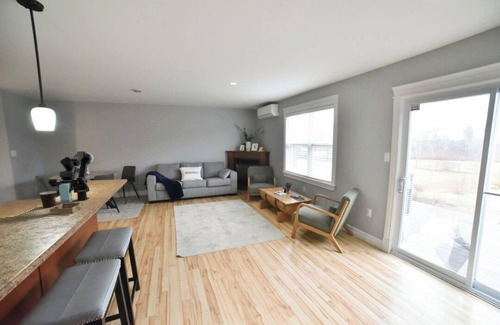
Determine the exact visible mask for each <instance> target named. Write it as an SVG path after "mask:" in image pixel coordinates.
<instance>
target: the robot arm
mask: <svg viewBox="0 0 500 325" xmlns="http://www.w3.org/2000/svg"><path fill="white" fill-rule="evenodd" d="M92 160H93V156H92V155H91V154H90V153H88V152H86V151H80V150H79V151H77V152H76V154H75V155H74V156H72V157H70V156H65V157H64V158H62V159H61V160H60V161H59V163H60V165H61V166H62V168H63V169H64V170H65V171H59V177H60V179H58V178H50V179H48V181H47V183H48V185H49V186H50V187H52V188H56V187H57V188H58V189H59V185H61V184H69V183H71V186H70V189H69V193H71V192H73V194H76V195H77V196H76V197H77V198H76V199H75V202H76V201H79V202H80V201H86V200H88V199H89V198H90V197H88V195H87V194H88V192H90V187H89V185H88V183H87V180H86V178H87V173H88V172H87V171H88V166H89V165H90V164H91V162H92ZM78 167H79V170H77V169H78ZM77 172H78V177H76V173H77ZM58 193H59V194H60V191H59V190H58Z"/></svg>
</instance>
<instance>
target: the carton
mask: <svg viewBox="0 0 500 325" xmlns="http://www.w3.org/2000/svg"><path fill="white" fill-rule="evenodd" d="M83 208H85V205H84V203H83V202H70V203H60V204H59V205H56V206H55V207H51V208H50V209H49V215H48V216H47V217H63V216H70V215H73V214H74V213H76V212H78V211H79V210H81V209H83Z"/></svg>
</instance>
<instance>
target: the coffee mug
mask: <svg viewBox="0 0 500 325" xmlns="http://www.w3.org/2000/svg"><path fill="white" fill-rule="evenodd" d="M57 195H58V194H57V191H56V190H55V191H54V190H53V191H43V192H40V193H39V197H40V201H41V204H42V208H43V209H49V208H50V209H52V208H54V206H55V207H56V206H57Z"/></svg>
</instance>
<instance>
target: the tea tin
mask: <svg viewBox="0 0 500 325" xmlns="http://www.w3.org/2000/svg"><path fill="white" fill-rule="evenodd" d="M70 186H71V183H67V184H61V185H59V188H58V192H59V191H60V193H59V197H60V198H59V199H60V204H64V203H72V202H73V195H72V194H73V193H72V192H73V191H72V192H71V193H69V189H70Z"/></svg>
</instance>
